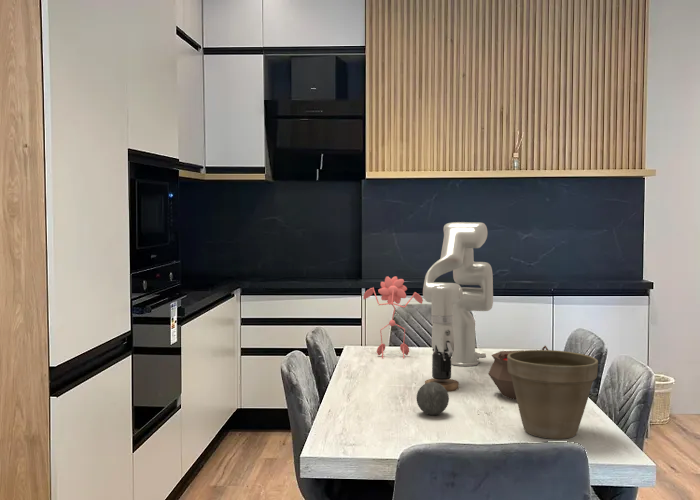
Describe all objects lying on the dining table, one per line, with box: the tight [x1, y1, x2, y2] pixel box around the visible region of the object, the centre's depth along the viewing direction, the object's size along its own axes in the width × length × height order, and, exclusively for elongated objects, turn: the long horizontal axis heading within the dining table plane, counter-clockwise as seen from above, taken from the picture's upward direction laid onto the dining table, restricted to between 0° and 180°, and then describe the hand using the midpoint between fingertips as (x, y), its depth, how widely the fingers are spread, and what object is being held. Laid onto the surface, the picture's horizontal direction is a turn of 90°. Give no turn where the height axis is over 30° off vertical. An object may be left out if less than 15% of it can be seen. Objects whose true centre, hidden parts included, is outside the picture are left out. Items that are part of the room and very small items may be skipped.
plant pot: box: [507, 349, 599, 440], centre depth 208 cm, size 25×25×22 cm
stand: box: [424, 378, 460, 393], centre depth 262 cm, size 12×12×2 cm
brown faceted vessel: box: [487, 345, 549, 401], centre depth 250 cm, size 24×24×16 cm
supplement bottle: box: [431, 345, 452, 380], centre depth 262 cm, size 7×7×12 cm
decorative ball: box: [415, 382, 450, 416], centre depth 227 cm, size 10×10×10 cm
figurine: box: [363, 275, 424, 359], centre depth 321 cm, size 15×26×35 cm, turn 88°
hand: (441, 368), depth 262 cm, fingers closed on supplement bottle, 6 cm apart
